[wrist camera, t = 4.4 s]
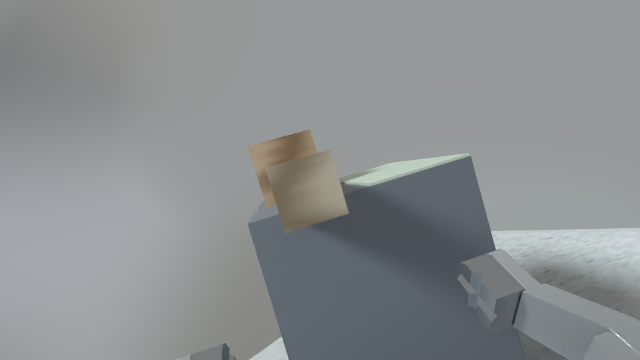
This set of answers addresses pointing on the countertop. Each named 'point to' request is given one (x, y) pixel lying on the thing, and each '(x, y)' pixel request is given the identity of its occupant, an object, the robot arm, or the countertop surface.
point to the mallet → (298, 180)
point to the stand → (384, 269)
